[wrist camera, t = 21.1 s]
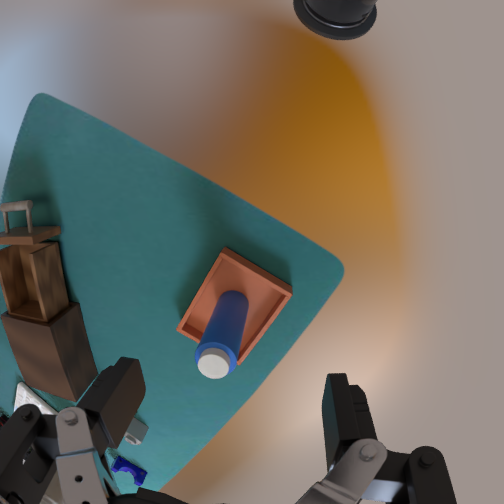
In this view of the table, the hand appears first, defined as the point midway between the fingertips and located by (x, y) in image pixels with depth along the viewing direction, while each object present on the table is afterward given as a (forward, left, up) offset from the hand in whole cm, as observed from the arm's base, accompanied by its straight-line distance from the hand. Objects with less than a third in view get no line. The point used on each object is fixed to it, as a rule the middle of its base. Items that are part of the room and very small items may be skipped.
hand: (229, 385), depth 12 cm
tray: (+10, -4, -28) cm, 30 cm away
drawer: (+3, -36, -27) cm, 45 cm away
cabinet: (+19, -36, -28) cm, 50 cm away
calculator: (+47, -57, -28) cm, 79 cm away
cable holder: (+57, -31, -28) cm, 71 cm away
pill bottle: (+10, -4, -28) cm, 30 cm away
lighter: (+37, -25, -28) cm, 53 cm away
